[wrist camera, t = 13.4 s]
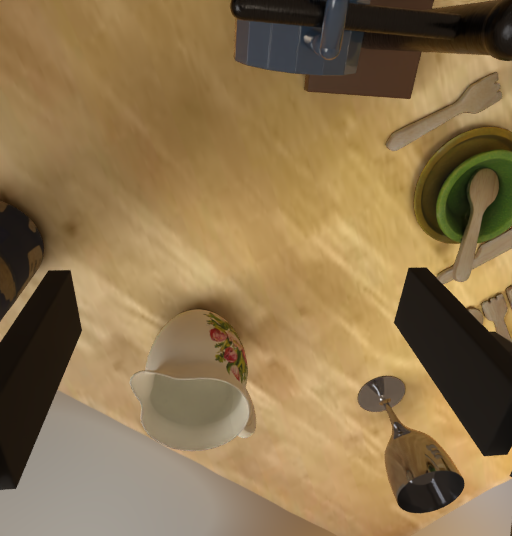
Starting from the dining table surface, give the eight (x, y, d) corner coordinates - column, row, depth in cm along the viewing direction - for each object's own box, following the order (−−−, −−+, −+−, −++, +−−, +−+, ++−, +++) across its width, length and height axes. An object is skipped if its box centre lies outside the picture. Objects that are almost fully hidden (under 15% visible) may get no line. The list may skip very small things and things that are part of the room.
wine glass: (394, 415, 63) (444, 514, 49) (346, 410, 61) (385, 511, 48) (416, 377, 59) (477, 472, 46) (367, 370, 57) (415, 467, 44)
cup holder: (221, -53, 33) (245, -183, 14) (432, -28, 35) (702, -110, 16) (217, 83, 38) (231, 127, 18) (403, 97, 40) (585, 148, 21)
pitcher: (215, 395, 56) (219, 491, 44) (117, 316, 48) (89, 406, 36) (279, 353, 54) (301, 442, 42) (187, 262, 46) (182, 340, 34)
